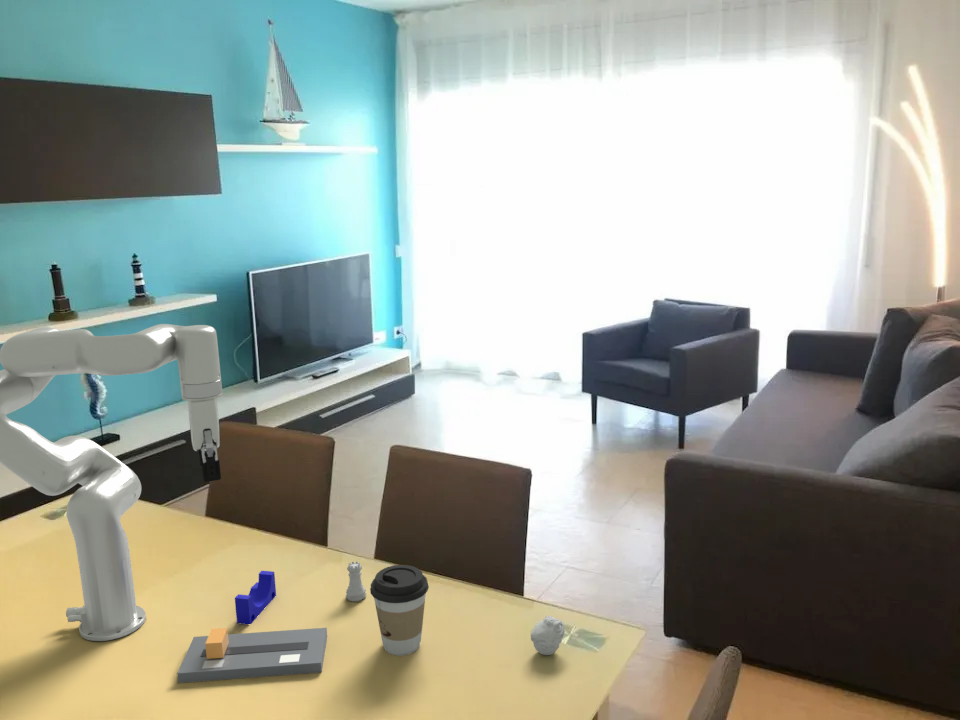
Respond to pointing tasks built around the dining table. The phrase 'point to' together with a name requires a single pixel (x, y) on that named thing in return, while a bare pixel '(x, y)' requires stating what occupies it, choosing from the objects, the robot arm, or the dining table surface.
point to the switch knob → (217, 643)
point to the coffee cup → (400, 607)
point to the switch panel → (257, 656)
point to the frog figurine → (548, 635)
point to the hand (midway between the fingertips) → (210, 472)
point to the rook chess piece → (355, 583)
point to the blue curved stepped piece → (256, 598)
